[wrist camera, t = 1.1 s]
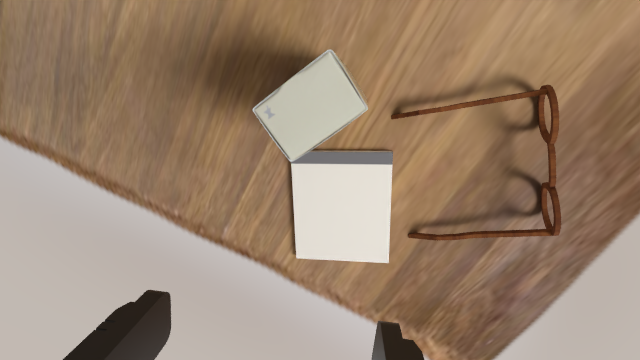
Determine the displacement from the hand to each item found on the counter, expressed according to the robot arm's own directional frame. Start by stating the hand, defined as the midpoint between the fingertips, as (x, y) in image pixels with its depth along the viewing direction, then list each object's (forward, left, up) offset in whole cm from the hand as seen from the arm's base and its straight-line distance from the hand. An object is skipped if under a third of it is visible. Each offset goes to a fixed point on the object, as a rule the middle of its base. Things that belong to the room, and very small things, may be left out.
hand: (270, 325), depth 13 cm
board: (+4, +1, -22) cm, 23 cm away
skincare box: (-7, 0, -23) cm, 24 cm away
